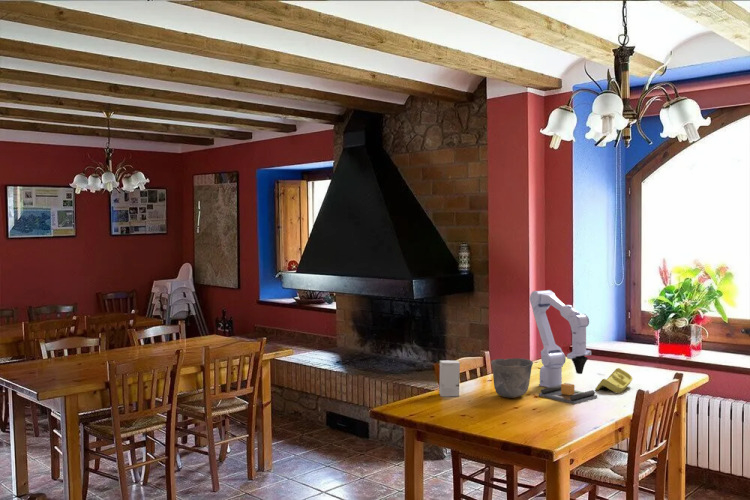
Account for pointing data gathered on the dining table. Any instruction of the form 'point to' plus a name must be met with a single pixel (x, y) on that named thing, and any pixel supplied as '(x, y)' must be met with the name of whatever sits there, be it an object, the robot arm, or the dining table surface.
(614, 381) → the plastic component
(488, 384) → the dining table surface
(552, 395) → the panel
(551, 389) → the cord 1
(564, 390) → the toggle
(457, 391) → the skincare box
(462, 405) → the dining table surface
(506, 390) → the gray stone pot
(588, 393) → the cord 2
